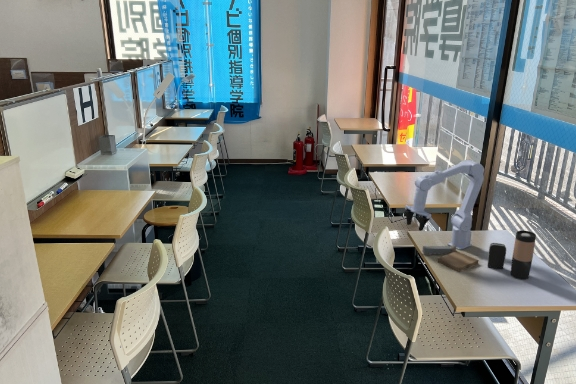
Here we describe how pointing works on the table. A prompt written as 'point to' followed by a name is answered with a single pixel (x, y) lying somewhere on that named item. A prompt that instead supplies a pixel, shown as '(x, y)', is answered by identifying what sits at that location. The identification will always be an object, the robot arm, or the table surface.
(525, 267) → the travel mug
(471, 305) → the table surface
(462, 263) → the stool seat
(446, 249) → the gray rectangular bar
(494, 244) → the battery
